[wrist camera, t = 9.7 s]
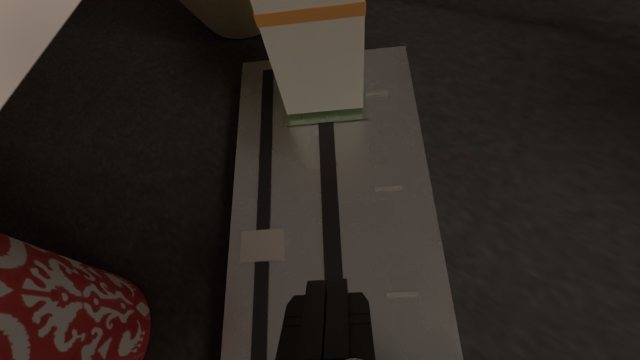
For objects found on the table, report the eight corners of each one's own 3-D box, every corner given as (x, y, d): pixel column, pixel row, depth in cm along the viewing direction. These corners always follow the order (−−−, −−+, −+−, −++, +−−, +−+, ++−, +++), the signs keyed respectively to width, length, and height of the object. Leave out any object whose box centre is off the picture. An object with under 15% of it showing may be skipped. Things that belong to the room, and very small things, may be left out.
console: (402, 60, 26) (407, 34, 24) (462, 401, 17) (478, 411, 15) (248, 76, 27) (238, 53, 25) (227, 406, 18) (208, 416, 16)
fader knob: (358, 60, 24) (358, -107, 15) (364, 108, 22) (367, -47, 13) (286, 67, 24) (244, -91, 15) (286, 115, 23) (238, -31, 14)
